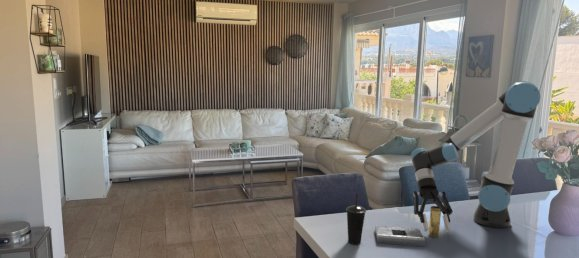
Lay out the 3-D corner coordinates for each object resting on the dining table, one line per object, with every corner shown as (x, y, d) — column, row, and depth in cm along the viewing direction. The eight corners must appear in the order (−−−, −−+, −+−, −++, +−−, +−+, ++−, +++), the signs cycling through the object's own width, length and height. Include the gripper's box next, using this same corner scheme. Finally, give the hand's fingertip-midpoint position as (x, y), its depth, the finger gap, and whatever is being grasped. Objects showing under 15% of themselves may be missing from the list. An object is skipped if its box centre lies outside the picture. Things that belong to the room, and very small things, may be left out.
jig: (418, 234, 173) (419, 226, 173) (424, 246, 161) (425, 238, 161) (374, 231, 175) (375, 223, 175) (377, 243, 164) (377, 235, 163)
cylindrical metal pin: (437, 233, 174) (439, 206, 172) (439, 237, 170) (442, 209, 168) (427, 233, 175) (429, 205, 173) (429, 237, 171) (431, 209, 169)
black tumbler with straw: (366, 240, 165) (369, 192, 162) (361, 248, 159) (364, 197, 156) (347, 236, 169) (350, 189, 166) (342, 244, 162) (344, 194, 159)
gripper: (446, 185, 186) (459, 233, 172) (399, 184, 184) (409, 233, 171) (452, 177, 180) (466, 226, 166) (404, 176, 178) (414, 226, 165)
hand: (437, 230), depth 169 cm, fingers open, 8 cm apart
